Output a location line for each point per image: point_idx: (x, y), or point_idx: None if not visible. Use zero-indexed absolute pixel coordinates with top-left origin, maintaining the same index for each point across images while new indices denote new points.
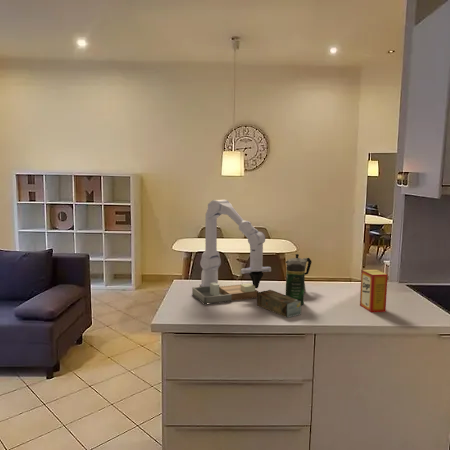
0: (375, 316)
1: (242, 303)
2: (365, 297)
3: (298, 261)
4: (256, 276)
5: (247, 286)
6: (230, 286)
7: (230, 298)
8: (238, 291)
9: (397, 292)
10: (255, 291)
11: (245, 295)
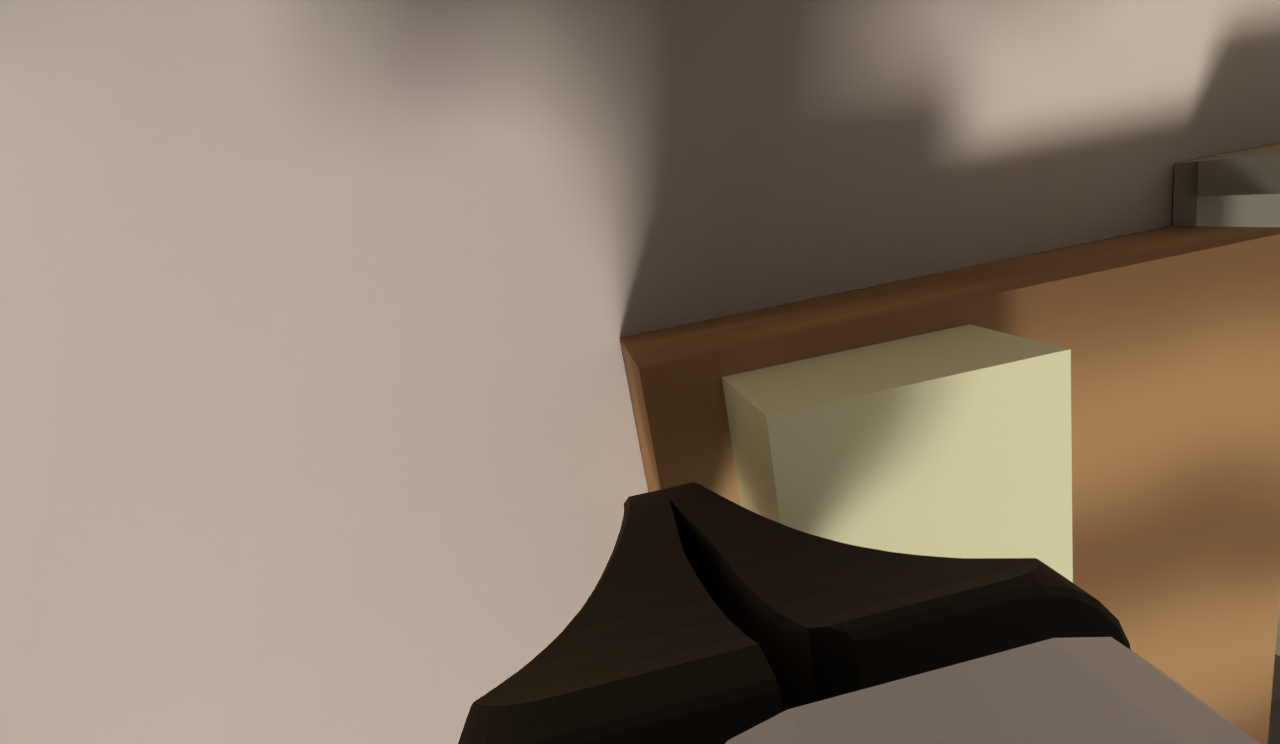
0: None
1: (1035, 7)
2: None
3: None
4: (862, 593)
5: (994, 386)
6: None
7: (1256, 154)
8: (1073, 413)
9: None
10: (716, 361)
11: (931, 289)
